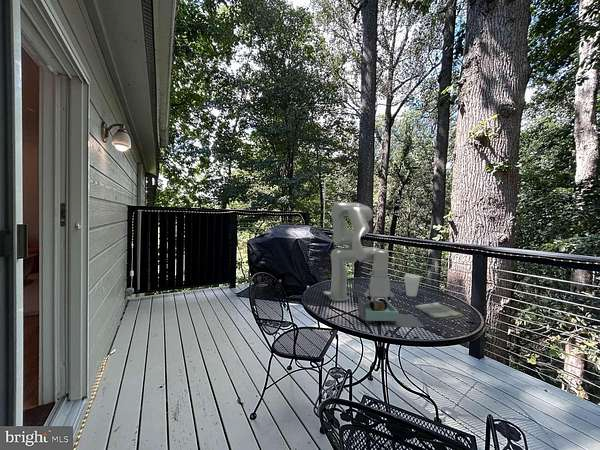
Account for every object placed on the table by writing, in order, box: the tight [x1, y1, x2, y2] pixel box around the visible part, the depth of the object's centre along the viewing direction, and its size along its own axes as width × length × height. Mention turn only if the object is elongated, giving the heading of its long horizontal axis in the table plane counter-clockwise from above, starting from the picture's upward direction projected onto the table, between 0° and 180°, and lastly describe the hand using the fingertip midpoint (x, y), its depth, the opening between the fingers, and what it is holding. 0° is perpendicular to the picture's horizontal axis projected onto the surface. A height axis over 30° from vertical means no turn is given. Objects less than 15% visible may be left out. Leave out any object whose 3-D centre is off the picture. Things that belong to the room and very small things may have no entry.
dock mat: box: [384, 313, 426, 328], centre depth 153 cm, size 18×16×1 cm
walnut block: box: [372, 300, 385, 311], centre depth 152 cm, size 5×5×5 cm
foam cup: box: [404, 273, 421, 298], centre depth 197 cm, size 10×9×13 cm
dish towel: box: [414, 301, 464, 320], centre depth 167 cm, size 19×18×3 cm
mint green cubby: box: [357, 296, 400, 325], centre depth 152 cm, size 17×14×10 cm
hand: (378, 308), depth 152 cm, fingers open, 5 cm apart
